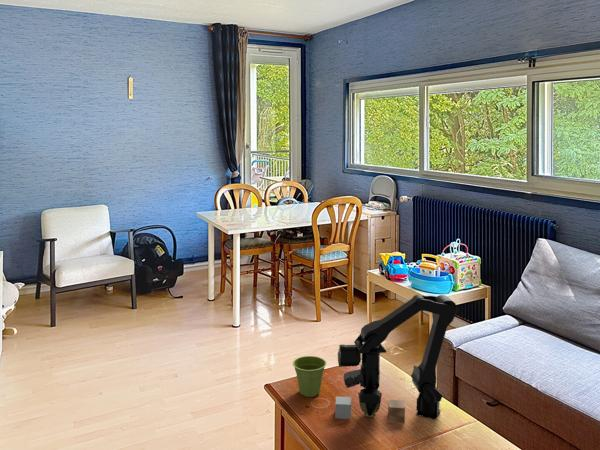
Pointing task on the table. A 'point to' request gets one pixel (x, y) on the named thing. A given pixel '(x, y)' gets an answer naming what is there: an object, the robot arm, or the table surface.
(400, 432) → the table surface
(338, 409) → the slate grey block
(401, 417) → the walnut block
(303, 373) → the plant pot
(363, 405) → the ornate bronze bell
